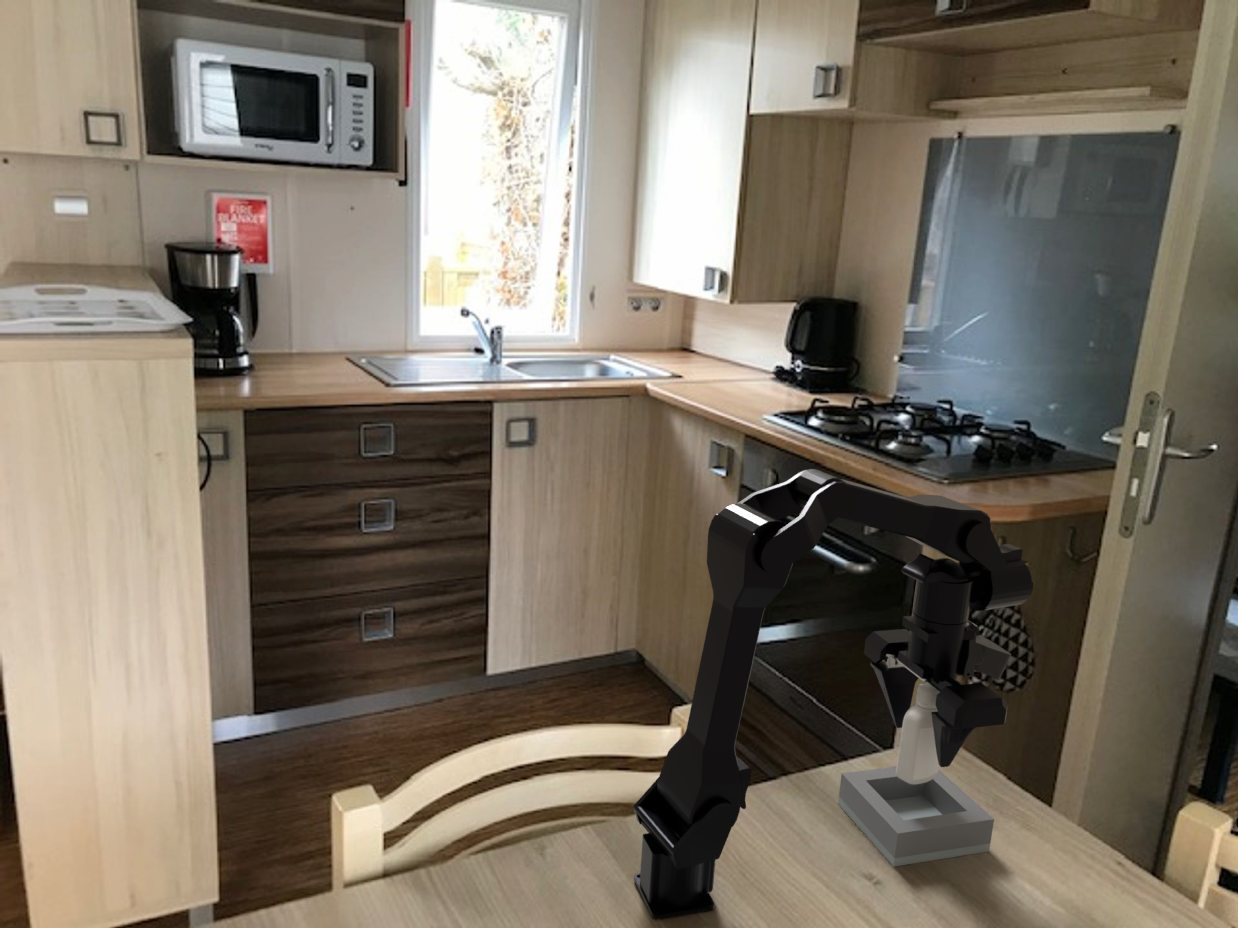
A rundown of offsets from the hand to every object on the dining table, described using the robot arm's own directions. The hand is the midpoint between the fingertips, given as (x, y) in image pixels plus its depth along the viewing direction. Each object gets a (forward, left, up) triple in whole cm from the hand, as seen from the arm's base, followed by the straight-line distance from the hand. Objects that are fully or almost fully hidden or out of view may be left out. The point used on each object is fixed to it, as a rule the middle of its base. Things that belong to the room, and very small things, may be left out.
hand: (921, 745), depth 112 cm
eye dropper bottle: (0, 0, -4) cm, 4 cm away
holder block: (0, 0, -10) cm, 10 cm away
